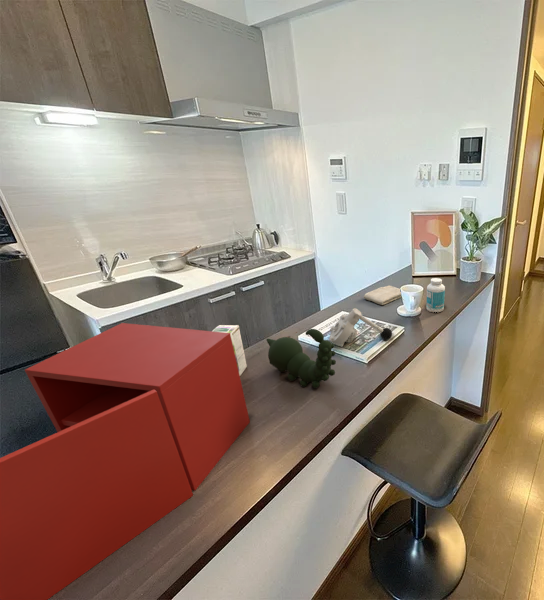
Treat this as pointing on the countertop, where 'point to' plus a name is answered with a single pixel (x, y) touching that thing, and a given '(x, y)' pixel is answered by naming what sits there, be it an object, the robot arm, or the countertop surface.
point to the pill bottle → (435, 295)
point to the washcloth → (383, 295)
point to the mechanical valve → (346, 328)
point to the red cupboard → (152, 386)
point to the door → (85, 496)
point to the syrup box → (235, 344)
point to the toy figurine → (302, 359)
